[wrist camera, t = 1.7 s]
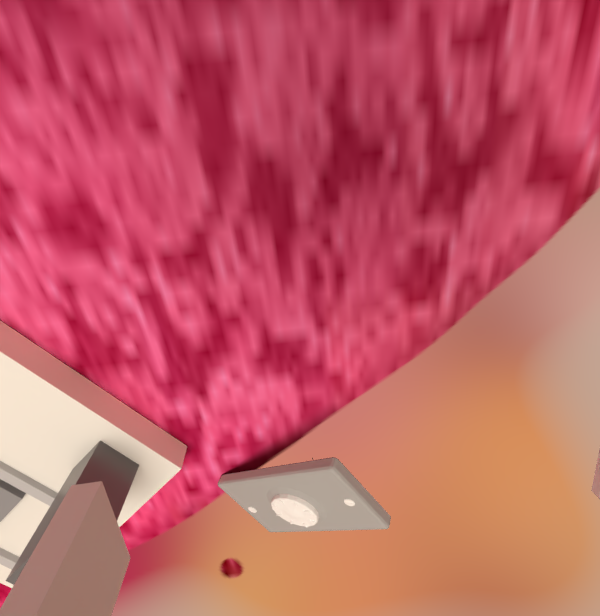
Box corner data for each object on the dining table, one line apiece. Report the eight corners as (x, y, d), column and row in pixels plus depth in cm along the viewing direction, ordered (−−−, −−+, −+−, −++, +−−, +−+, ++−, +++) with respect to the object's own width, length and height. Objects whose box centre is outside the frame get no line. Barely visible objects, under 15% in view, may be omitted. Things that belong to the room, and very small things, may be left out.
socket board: (-139, 477, 38) (-178, 508, 35) (-9, 314, 34) (-40, 332, 30) (54, 572, 44) (37, 607, 41) (187, 446, 40) (180, 473, 36)
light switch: (211, 493, 40) (329, 479, 31) (237, 442, 44) (347, 417, 36) (266, 541, 43) (388, 540, 34) (286, 489, 47) (398, 476, 39)
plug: (72, 468, 36) (-7, 599, 26) (100, 440, 35) (30, 563, 25) (111, 491, 37) (51, 625, 27) (139, 464, 36) (88, 592, 26)
